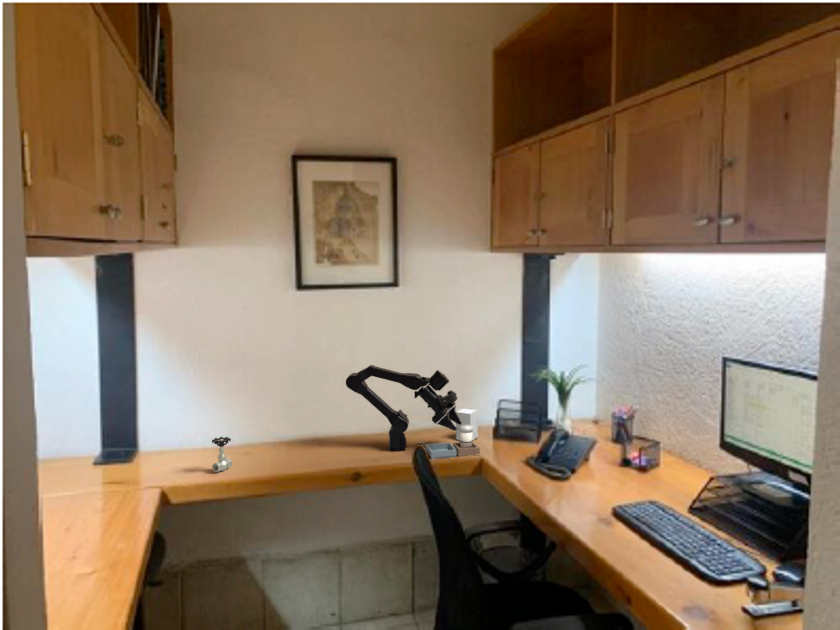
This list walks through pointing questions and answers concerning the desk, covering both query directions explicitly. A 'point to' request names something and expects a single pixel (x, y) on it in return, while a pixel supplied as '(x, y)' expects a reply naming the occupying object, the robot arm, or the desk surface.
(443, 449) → the parts tray
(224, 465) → the valve
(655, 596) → the desk surface
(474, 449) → the brown square tray
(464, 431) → the cartridge fuse
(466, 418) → the supplement box
